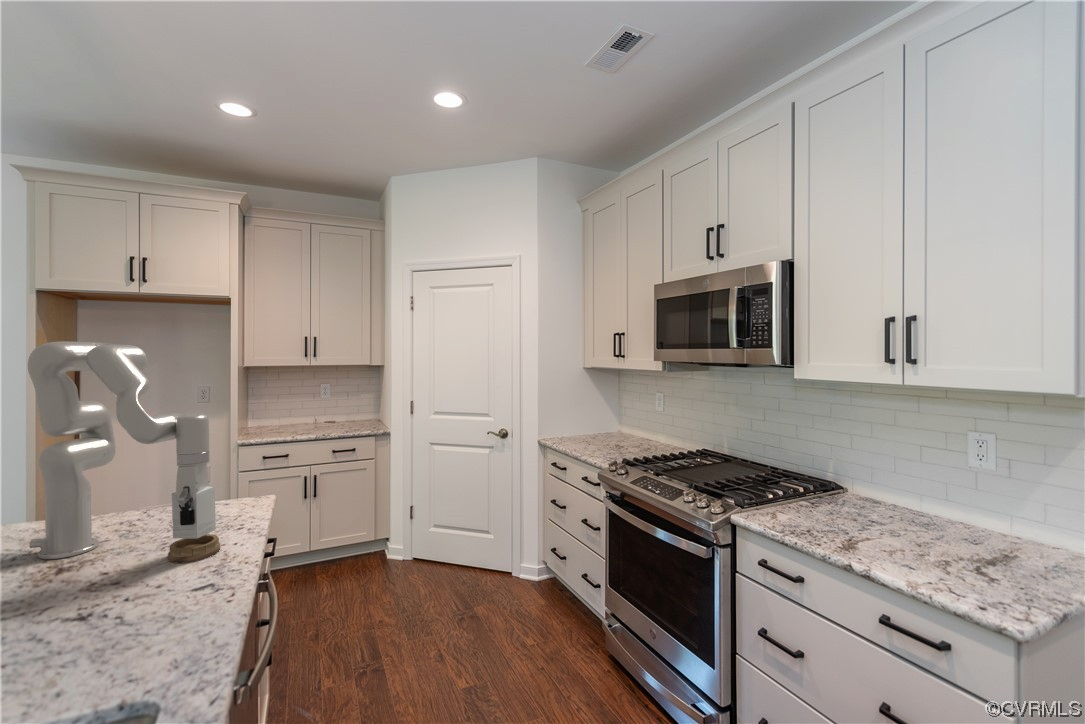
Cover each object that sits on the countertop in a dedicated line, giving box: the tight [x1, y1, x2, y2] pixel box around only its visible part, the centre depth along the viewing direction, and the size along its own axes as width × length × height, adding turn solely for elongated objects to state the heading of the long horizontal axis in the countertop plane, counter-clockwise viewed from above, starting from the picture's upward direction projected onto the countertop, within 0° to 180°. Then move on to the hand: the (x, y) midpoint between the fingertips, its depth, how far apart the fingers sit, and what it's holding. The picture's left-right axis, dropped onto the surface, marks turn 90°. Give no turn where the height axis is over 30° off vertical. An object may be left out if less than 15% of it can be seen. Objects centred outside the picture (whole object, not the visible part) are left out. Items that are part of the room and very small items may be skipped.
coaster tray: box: [167, 533, 221, 564], centre depth 138 cm, size 12×12×4 cm
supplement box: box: [171, 486, 217, 539], centre depth 138 cm, size 7×7×13 cm
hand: (194, 518), depth 138 cm, fingers closed on supplement box, 9 cm apart
